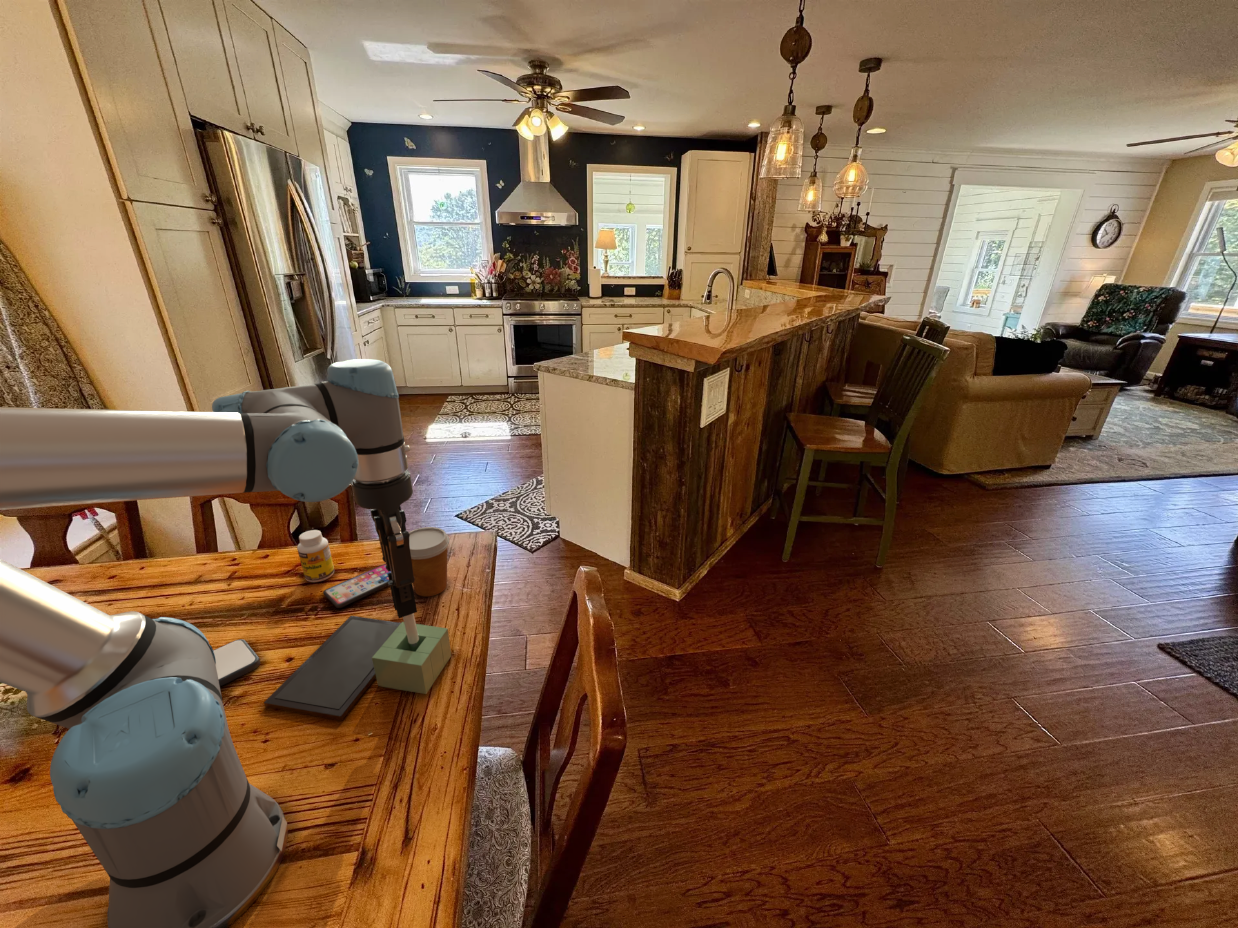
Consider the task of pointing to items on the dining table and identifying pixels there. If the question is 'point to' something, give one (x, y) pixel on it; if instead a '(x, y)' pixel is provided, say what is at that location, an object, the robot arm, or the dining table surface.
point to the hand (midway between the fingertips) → (405, 609)
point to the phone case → (234, 661)
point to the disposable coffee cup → (429, 560)
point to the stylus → (411, 629)
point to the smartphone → (358, 587)
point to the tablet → (335, 671)
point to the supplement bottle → (315, 556)
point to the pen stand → (412, 659)
